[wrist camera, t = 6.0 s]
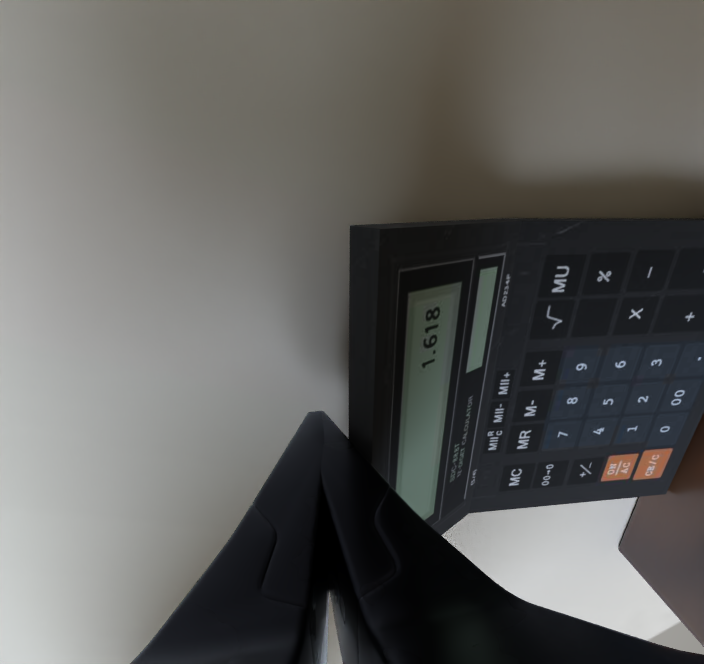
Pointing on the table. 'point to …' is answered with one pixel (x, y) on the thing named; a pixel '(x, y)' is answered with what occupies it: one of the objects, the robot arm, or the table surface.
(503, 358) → the calculator
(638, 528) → the rail
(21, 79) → the table surface
